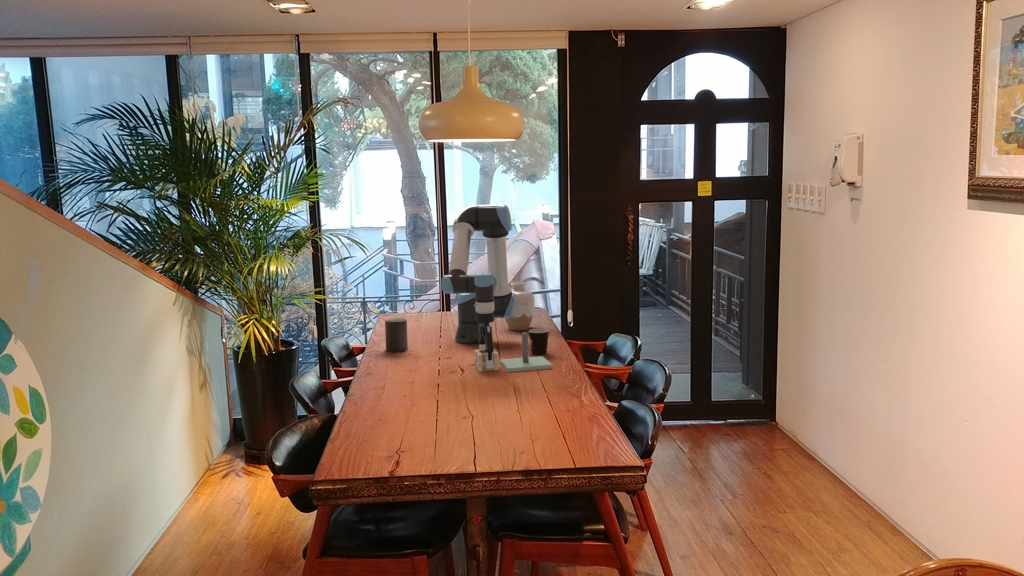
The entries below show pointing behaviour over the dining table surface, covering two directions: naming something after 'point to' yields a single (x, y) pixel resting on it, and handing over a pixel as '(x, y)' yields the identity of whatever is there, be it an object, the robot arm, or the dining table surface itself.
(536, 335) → the coffee mug
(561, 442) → the dining table surface
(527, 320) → the vase
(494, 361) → the wooden square ring
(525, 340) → the rod stand
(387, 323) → the pillar candle
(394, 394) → the dining table surface
